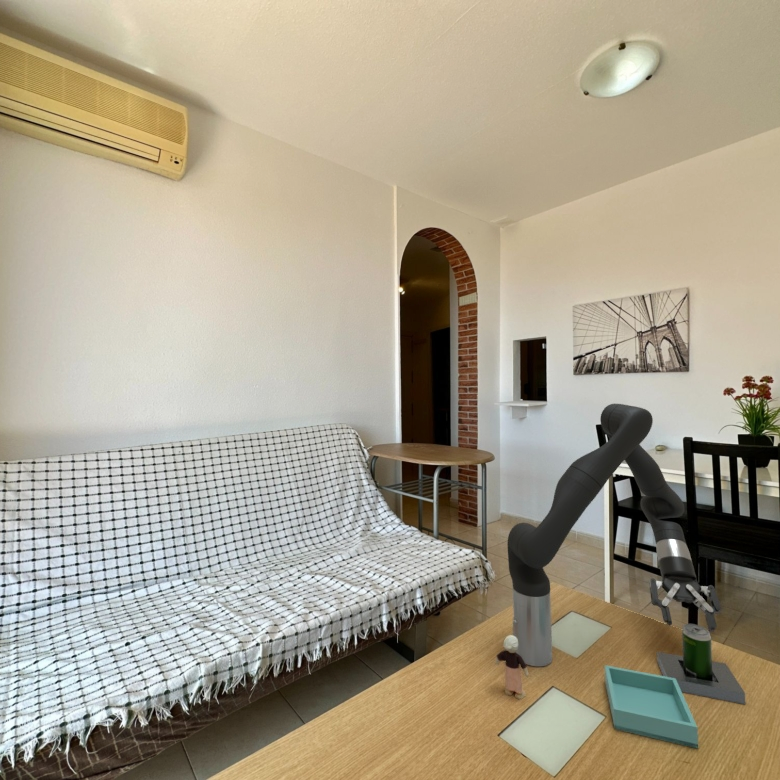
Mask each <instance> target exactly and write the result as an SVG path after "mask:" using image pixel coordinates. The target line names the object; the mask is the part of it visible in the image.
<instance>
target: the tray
mask: <svg viewBox="0 0 780 780" xmlns="http://www.w3.org/2000/svg"><path fill="white" fill-rule="evenodd" d="M604 680H605V681H604V683H605V688H606V693H607V698H608V703H609V708H610V712H611V717H612V724H613V728H614V730H617V731H621V732H626V733H629V734H634V735H639V736H642V737H646V738H652V739H655V740H659V741H662V742H663V741H664V742H668V743H672V744H677V745H680V746H685V747H689V748H690V747H691V748H694V749H699V731H698V726H697V723H696V721H695V719H694V716H693V714H692V713H691V709H690V708H689V705H688V703H687V701H686V698H685V696H684V694H683V692H681V689H680V687H679V685H678V683H677V680H676V678H671V677H665V676H663V675H659V674H654V673H649V672H643V671H639V670H638V671H637V670H633V669H627V668H622V667H616V666H611V665H606V664H605V665H604Z"/></svg>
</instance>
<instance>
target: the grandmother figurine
mask: <svg viewBox="0 0 780 780" xmlns="http://www.w3.org/2000/svg"><path fill="white" fill-rule="evenodd" d="M502 646H503V648H504V649H505V650H501V651H500V652H499V653H498V654H497V655H496V658H495V660H494V663H495V664H496V665H499V664H501V663H500V662H505V664H504V681H505V682H504V683H505V691H504V693H505V695H507V696H513V694H514V697H515V698H516V699H518V700H522V699H523V698H525V697H526V695H527V694H526V691H525V690H524V689H523V682H522V681H523V680H522V672H523V675H524V676H525V678H528V677H530V673H529V671H528V666H527V664H525V662H524V661H523V659H522V657H521V656H520V655H519V654H517V653H516V651H517V649H518V639H517V638H516V637H515V636H513V634H509V635H507V636H506V637H505V639H504V641H503V643H502ZM521 670H522V671H521Z"/></svg>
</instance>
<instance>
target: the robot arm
mask: <svg viewBox="0 0 780 780" xmlns="http://www.w3.org/2000/svg"><path fill="white" fill-rule="evenodd" d="M599 419H600V425H601V428H602V430H603V432H604V433H605V435H606V436H607V437H608V438H609V439H608V441H607V442H605V443H604V444H603V445H602V446H600V447H598V448H596V449H594V450H593V451H592V450H591V451H590V452H588V453H586V454H584V455H582V456H580V457H579V458H577V459H576V460H574V461H573V462H572V463H571V464H570V465H569V466H568V468H567V469H566V470H565V471H564V472H563V474H562V475H561V476H560V478H559V479H558V481H557V484H556V486H555V489H554V496H553V501H552V502H551V503H552V504H551V507H550V509H549V511H548V513H547V515H546V516H545V517H544V518H543V520H541V522H540V523H539V524H538V526H535V525H533V524H531V523H527V522H519V523H517V524H515V525H513V527H512V528H511V530H510V531H509V533H508V535H507V536H508V537H507V557H508V558H507V559H508V560H507V561H508V572H509V575H510V578H511V581H512V582H511V583H512V603H513V604H512V609H513V614H512V615H513V616H512V635H513V636H515V637H516V638H517V639H518V649H517V651H516V653H517V654H519V655H520V656H521V657H522V659H523V661H524V662H525V664H526V665H528V666H532V667H545V666H548V665H550V664H551V663H552V661H553V644H552V643H553V639H552V638H553V636H552V608H551V603H552V602H551V582H550V578H549V577H548V575H547V573H546V572H545V569H544V567H546V566H547V565H549V564H550V563H551V562H552V560H553V559H554V558H555V556H556V555H557V553H558V552H559V550H560V548H561V547H562V545H563V543H564V542H565V540H566V538H567V536H568V535H569V533H570V531H571V530H572V529H573V527H574V526H575V524H576V523H577V522H578V521H579V519H580V517H581V516H582V515H583V513H584V512H585V511H586V509H587V508H588V506H590V504H592V502H593V501H594V500H595V498H596V497H597V495H598V494H599V493H600V492H601V491H602V489H603V488H604V486H605V485H606V483H607V482H608V481H609V480H610V478H611V476H612V475H613V474H614V473H615V472H616V470H617V469H618V468H619V467H620V466H621V465H622V463H623V462H624V461H625V463H626V464H627V466H628V468H629V470H630V472H631V473H632V476H633V477H634V480H635V482H636V485H637V486H638V488H639V491H640V492H641V494H643V495H644V496H642V497H641V499H640V508H641V510H642V512H643V514H644V515H645V517H646V518H647V520H648V522H649V524H650V525H649V526H650V527H651V529H652V532H653V537H654V541H655V546H656V556H657V557H656V559H657V561H658V565H659V570H660V575H661V579H662V580H656V579H655V578H653V577H651V578H650V581H649V583H648V585H649V593H650V602H651V604H652V606H653V607H654V606H656V607H659V608H660V610H661V615H662V620H663V621H664V623H666V625H667V626H670V627H671V626H672V624H673V621H672V616H671V610H670V608H669V605H670V603H671V602H672V601H673V600H674V601H675V602H678V603H682V602H684V603H687V604H692V603H693V604H694V605H695V606H696V607H697V608H698V609H700V610H701V611H702V612H703V613H704V614H705V615H704V617H705V621H706V625H707V630H708V631H709V633H710V632H711V633H714V632H715V630H716V629H717V621H716V618H715V615H719V614H720V612H721V611H722V609H723V608H722V605H721V603H720V600H719V597H718V594H717V591H716V589H715V586H713V584H710V585H708V586H706V585H704V586H703V585H700V584H699V582H698V580H697V575H696V572H695V571H696V570H695V568H694V565H693V564H694V563H693V561H692V560H693V559H692V558H691V556H692V555H691V553H690V551H689V548H688V545H687V542H686V539H685V535H684V534H685V533H684V531H683V528H682V526H681V525H680V524H679V523H677V522H674V521H669V520H663V519H671V518H679V517H681V516H683V514H684V513H685V504H684V502H683V500H682V499H681V497H680V496H679V495H678V494H677V492H675V491H674V489H672V488H671V486H670V485H669V484H668V482H667V481H666V478H665V477H664V474H663V471H662V469H661V468H660V465H659V464H658V463H657V461H656V460H655V459H654V458H653V457H652V455H650V453H649V452H647V451H646V450H645V449H644V447H642V446H641V443H642V442H644V440H645V439H646V437H647V436H648V434H650V432H651V429H652V426H653V422H654V421H653V415H652V413H651V412H650V411H649V410H648V409H646V408H644V407H640V406H639V407H638V406H633V405H628V404H624V403H610V404H607V405H606V406H605V407H604V409H603V410H602V411H601V414H600V418H599ZM660 587H661V588H662V589H663V590H664V592H666V593H667V594H666V595H665V597H664V598H663V599H662V600H661V599H659V594H658V591H659V589H660ZM701 592H702V593H704V595H705V596H706V597H708V600H709V603H710V604H709V603H708V602H707V601H706V600H705V599H704V598H703V596H702V595H700V594H701Z"/></svg>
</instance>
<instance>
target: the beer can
mask: <svg viewBox="0 0 780 780" xmlns="http://www.w3.org/2000/svg"><path fill="white" fill-rule="evenodd" d="M682 627H683V628H682V629H681V637H682V656H683V672H684V674H685V676H686V677H691V678H696V679H702V680H707V681H713V680H712V661H713V654H712V653H713V652H712V651H713V650H712V637H711V634H710V631H709V629H708V628H705V627H704V626H702V625H698V624H695V623H685V624H683V626H682Z"/></svg>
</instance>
